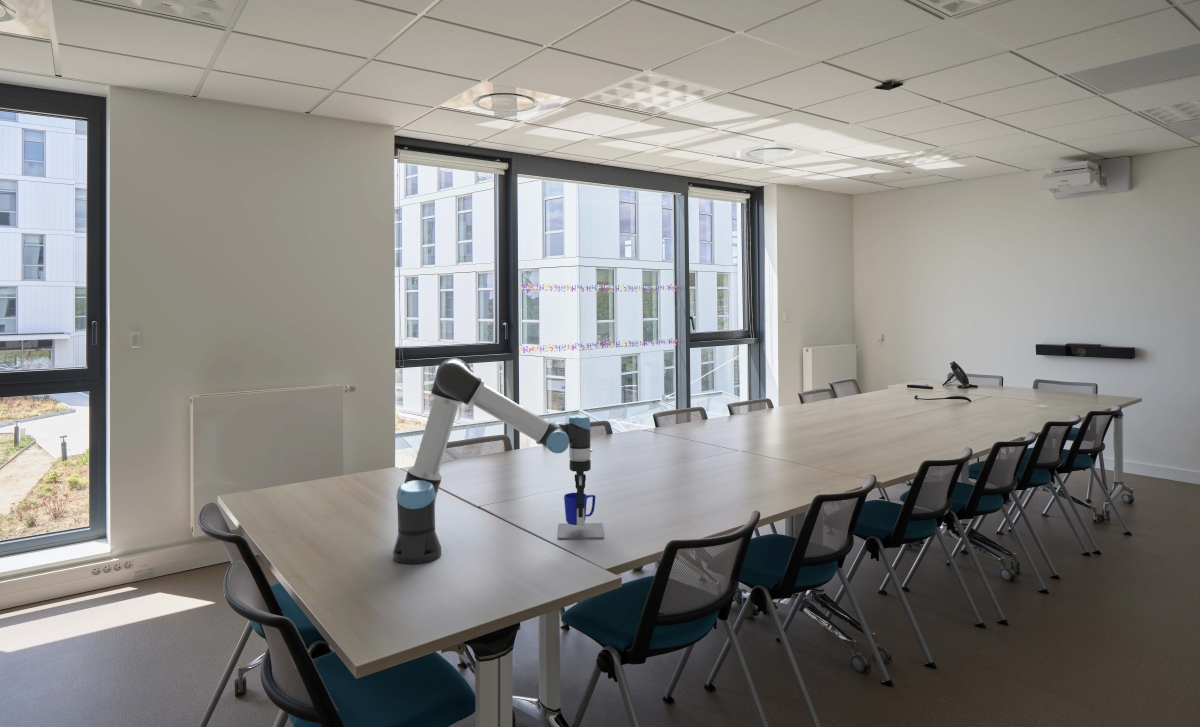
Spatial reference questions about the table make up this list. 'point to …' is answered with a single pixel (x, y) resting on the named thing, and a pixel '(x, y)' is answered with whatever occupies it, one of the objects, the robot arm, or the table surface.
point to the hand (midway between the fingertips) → (580, 522)
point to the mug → (570, 508)
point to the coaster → (580, 531)
